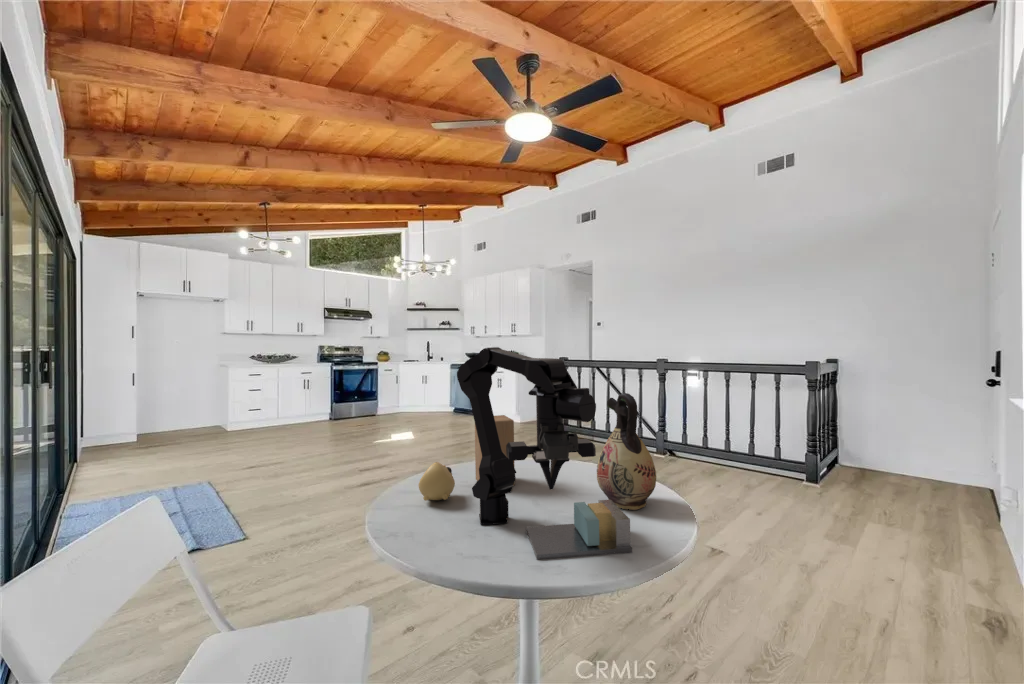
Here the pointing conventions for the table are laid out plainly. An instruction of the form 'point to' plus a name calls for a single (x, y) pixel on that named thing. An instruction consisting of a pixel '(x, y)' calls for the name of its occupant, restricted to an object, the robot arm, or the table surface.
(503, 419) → the wooden block
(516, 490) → the table surface
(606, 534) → the brass block
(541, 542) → the vise base
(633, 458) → the ceramic jug
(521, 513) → the table surface
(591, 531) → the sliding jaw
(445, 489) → the toy pig
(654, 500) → the table surface
